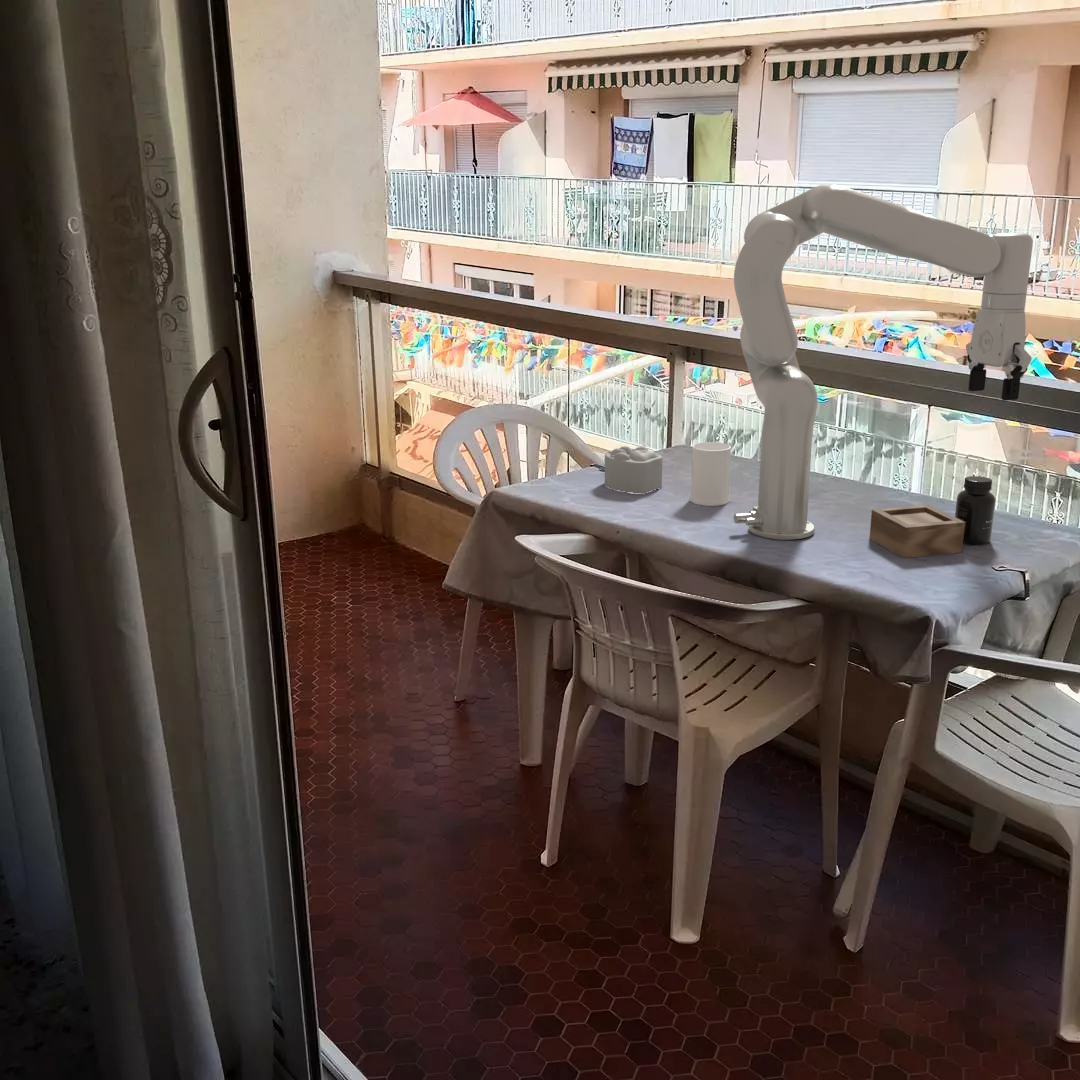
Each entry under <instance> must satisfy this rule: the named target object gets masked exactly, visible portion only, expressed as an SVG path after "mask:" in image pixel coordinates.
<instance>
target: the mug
mask: <svg viewBox="0 0 1080 1080" xmlns="http://www.w3.org/2000/svg"><path fill="white" fill-rule="evenodd" d="M691 451H692V452H691V453H692V456H691V457H692V459H691V484H690V485H691V489H690V490H691V491H690V496H689V501H690V502H691V503H692V502H693V504H695V505H697V506H698V505H699V506H704V507H705V506H707V507H708V506H709V507H719V506H724V505H727V504H729V503H730V501H731V497H730V480H731V479H730V477H731V456H732V455H731V453H732V446H731V445H729V444H728V443H724V442H716V441H712V442H711V441H705V442H703V441H702V442H698V443H695V444H693V445H692V450H691Z"/></svg>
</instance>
